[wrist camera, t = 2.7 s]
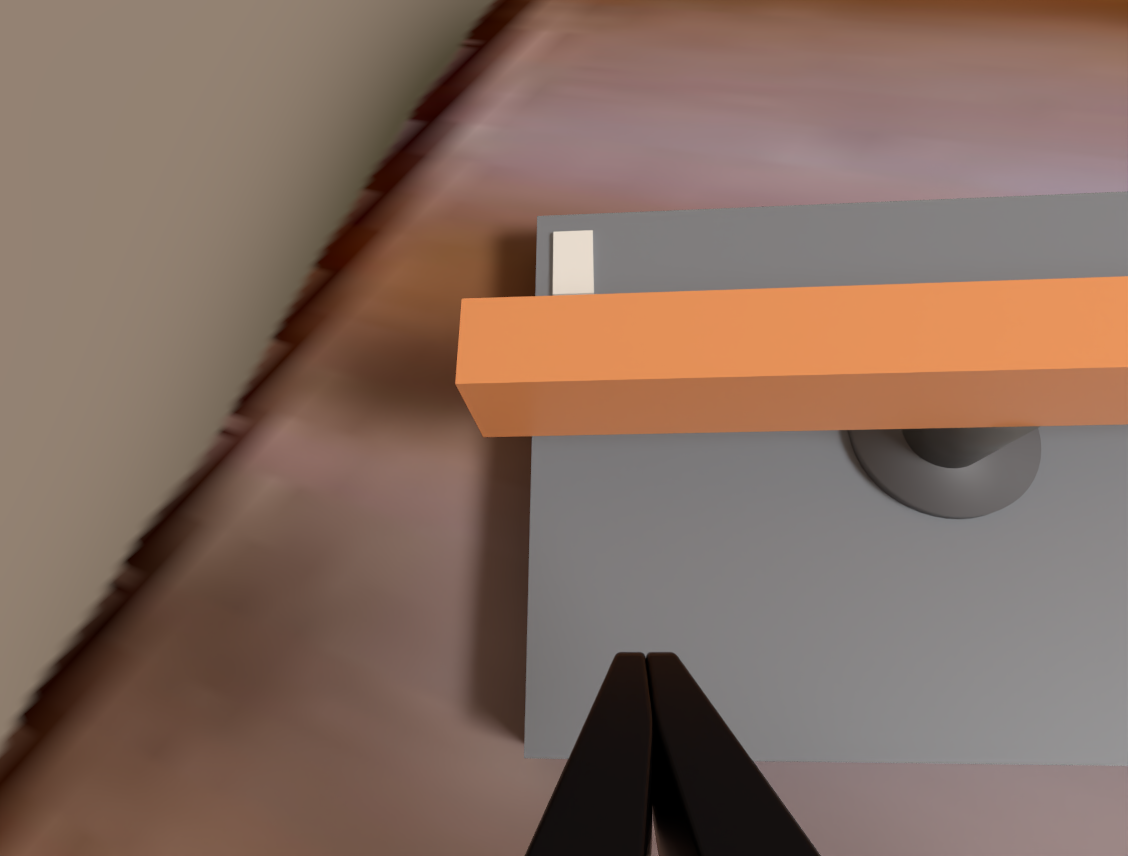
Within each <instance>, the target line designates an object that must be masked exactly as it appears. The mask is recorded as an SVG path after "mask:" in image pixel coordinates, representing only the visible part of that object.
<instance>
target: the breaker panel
mask: <svg viewBox="0 0 1128 856" xmlns="http://www.w3.org/2000/svg"><path fill="white" fill-rule="evenodd" d="M1121 276H1128V192H1107V193H1083V194H1059V195H1035V196H1010V197H986V198H962V199H938V200H914V201H890V202H866V203H842V204H818V205H794V206H770V207H746V208H722V209H698V210H674V211H650V212H626V213H602V214H578V215H554V216H537V250H536V291H535V296H556V295H586V294H615V293H645V292H675V291H705V290H734V289H764V288H794V287H824V286H853V285H883V284H913V283H943V282H972V281H1002V280H1032V279H1062V278H1091V277H1121ZM618 652H642V653H644V655H645V657H646V655H647V653H649V652H673V653H675V654H676V655H677V656H678V657H679V659H680V660H681V661H682V663H683V664H684V666H685V667H686V668H687V670H688V671H689V672H690V674H691V675H692V677H693V678H694V679H695V681H696V682H697V684H698V685H699V686H700V688H701V689H702V691H703V692H704V693H705V695H706V696H707V698H708V699H709V700H710V702H711V703H712V705H713V706H714V707H715V709H716V710H717V712H718V713H719V714H720V716H721V717H722V719H723V720H724V721H725V723H726V724H727V726H728V727H729V728H730V730H731V731H732V732H733V734H734V735H735V737H736V738H737V739H738V741H739V742H740V744H741V745H742V746H743V748H744V749H745V751H746V752H747V753H748V755H749V756H750V758H751V759H752V760H753V761H786V762H865V763H944V764H1023V765H1103V766H1128V424H1126V425H1075V426H1040V427H1039V428H1037V429H1035V430H1033V431H1031V432H1030V433H1028V434H1026V435H1024V436H1022V437H1021V438H1019V439H1017V440H1015V441H1013V442H1012V443H1010V444H1008V445H1006V446H1004V447H1003V448H1001V449H999V450H997V451H995V452H994V453H992V454H990V455H988V456H986V457H985V458H983V459H981V460H979V461H977V462H976V463H974V464H972V465H970V466H967V467H963V468H944V467H940V466H936V465H934V464H931V463H929V462H927V461H926V460H924V459H923V458H921V457H920V456H919V455H917V454H916V453H915V452H914V451H913V450H912V449H911V447H910V446H909V445H908V443H907V442H906V440H905V438H904V435H903V432H902V429H871V430H820V431H769V432H718V433H667V434H616V435H565V436H532V455H531V496H530V537H529V578H528V619H527V660H526V701H525V742H524V758H548V759H568V758H569V756H570V754H571V752H572V750H573V747H574V745H575V743H576V741H577V738H578V736H579V734H580V732H581V730H582V727H583V725H584V723H585V721H586V718H587V716H588V714H589V712H590V710H591V707H592V705H593V703H594V701H595V698H596V696H597V694H598V692H599V690H600V687H601V685H602V683H603V681H604V679H605V676H606V674H607V672H608V670H609V667H610V665H611V663H612V661H613V659H614V656H615V655H616V654H617V653H618Z"/></svg>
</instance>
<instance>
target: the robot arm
mask: <svg viewBox="0 0 1128 856" xmlns="http://www.w3.org/2000/svg"><path fill="white" fill-rule="evenodd" d="M652 811H653V822H654V829H655V835H656V842H657V848H658V853H659V856H821V855H820V854H819V852H818V851H817V850H816V848H815V847H814V846H813V844H812V843H811V841H810V840H809V839H808V837H807V836H806V834H805V833H804V832H803V830H802V829H801V827H800V826H799V825H798V823H797V822H796V820H795V819H794V818H793V816H792V815H791V813H790V812H789V811H788V809H787V808H786V806H785V805H784V804H783V802H782V801H781V799H780V798H779V797H778V795H777V794H776V792H775V791H774V790H773V788H772V787H771V786H770V784H769V783H768V781H767V780H766V779H765V777H764V776H763V774H762V773H761V772H760V770H759V769H758V767H757V766H756V765H755V763H754V762H753V760H752V759H751V758H750V756H749V755H748V753H747V752H746V751H745V749H744V748H743V746H742V745H741V744H740V742H739V741H738V739H737V738H736V737H735V735H734V734H733V732H732V731H731V730H730V728H729V727H728V726H727V724H726V723H725V721H724V720H723V719H722V717H721V716H720V714H719V713H718V712H717V710H716V709H715V707H714V706H713V705H712V703H711V702H710V700H709V699H708V698H707V696H706V695H705V693H704V692H703V691H702V689H701V688H700V686H699V685H698V684H697V682H696V681H695V679H694V678H693V677H692V675H691V674H690V672H689V671H688V670H687V668H686V667H685V666H684V664H683V663H682V661H681V660H680V659H679V657H678V656H677V655H676V654H675V653H673V652H649V653H647V655H646V657H645V655H644V653H642V652H618V653H617V654H616V655H615V656H614V659H613V661H612V663H611V665H610V667H609V670H608V672H607V674H606V676H605V679H604V681H603V683H602V685H601V687H600V690H599V692H598V694H597V696H596V698H595V701H594V703H593V705H592V707H591V710H590V712H589V714H588V716H587V718H586V721H585V723H584V725H583V727H582V730H581V732H580V734H579V736H578V738H577V741H576V743H575V745H574V747H573V750H572V752H571V754H570V756H569V758H568V761H567V763H566V765H565V767H564V769H563V772H562V774H561V776H560V778H559V781H558V783H557V785H556V787H555V789H554V792H553V794H552V796H551V798H550V801H549V803H548V805H547V807H546V809H545V812H544V814H543V816H542V818H541V821H540V823H539V825H538V827H537V829H536V832H535V834H534V836H533V838H532V841H531V843H530V845H529V847H528V849H527V852H526V854H525V856H651V849H652Z"/></svg>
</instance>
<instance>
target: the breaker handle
mask: <svg viewBox="0 0 1128 856" xmlns="http://www.w3.org/2000/svg"><path fill="white" fill-rule="evenodd" d="M455 384H456V386H457V388H458V390H459V392H460V394H461V396H462V398H463V399H464V401H465V403H466V405H467V407H468V409H469V411H470V413H471V415H472V416H473V418H474V420H475V422H476V424H477V426H478V428H479V430H480V432H481V434H482V435H483V437H514V436H565V435H616V434H667V433H718V432H769V431H820V430H871V429H902V432H903V435H904V438H905V440H906V442H907V443H908V445H909V446H910V447H911V449H912V450H913V451H914V452H915V453H916V454H917V455H919V456H920V457H921V458H923V459H924V460H926V461H927V462H929V463H931V464H934V465H936V466H940V467H944V468H963V467H967V466H970V465H972V464H974V463H976V462H977V461H979V460H981V459H983V458H985V457H986V456H988V455H990V454H992V453H994V452H995V451H997V450H999V449H1001V448H1003V447H1004V446H1006V445H1008V444H1010V443H1012V442H1013V441H1015V440H1017V439H1019V438H1021V437H1022V436H1024V435H1026V434H1028V433H1030V432H1031V431H1033V430H1035V429H1037V428H1039V427H1040V426H1075V425H1126V424H1128V276H1121V277H1091V278H1062V279H1032V280H1002V281H972V282H943V283H913V284H883V285H853V286H824V287H794V288H764V289H734V290H705V291H675V292H645V293H615V294H586V295H556V296H526V297H496V298H467V299H462V303H461V316H460V329H459V342H458V355H457V368H456V381H455Z"/></svg>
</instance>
